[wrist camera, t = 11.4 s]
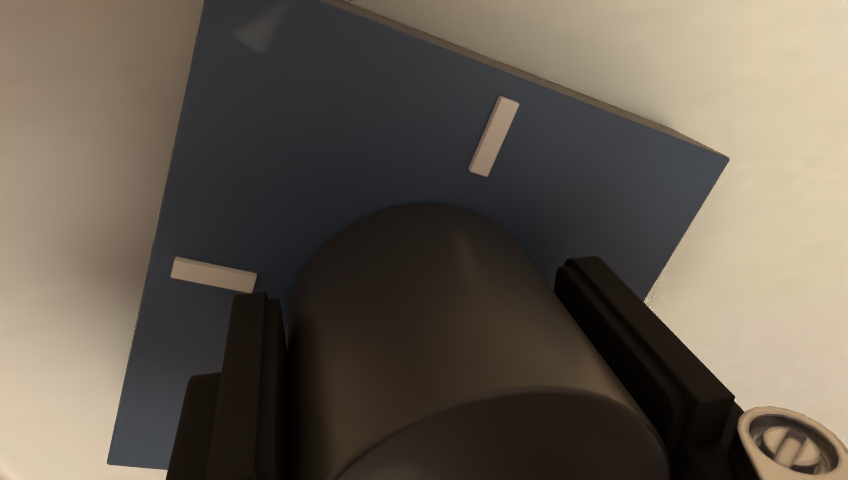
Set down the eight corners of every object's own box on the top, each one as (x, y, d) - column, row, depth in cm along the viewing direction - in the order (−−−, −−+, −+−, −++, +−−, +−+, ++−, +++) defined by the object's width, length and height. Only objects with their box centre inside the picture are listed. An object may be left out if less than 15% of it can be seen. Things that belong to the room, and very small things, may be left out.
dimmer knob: (299, 424, 12) (305, 716, 8) (274, 211, 10) (262, 449, 5) (520, 393, 13) (645, 637, 9) (545, 192, 11) (734, 379, 6)
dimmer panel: (129, 397, 13) (103, 471, 12) (226, -46, 10) (211, -42, 8) (497, 444, 17) (523, 507, 15) (673, 129, 13) (736, 161, 11)
